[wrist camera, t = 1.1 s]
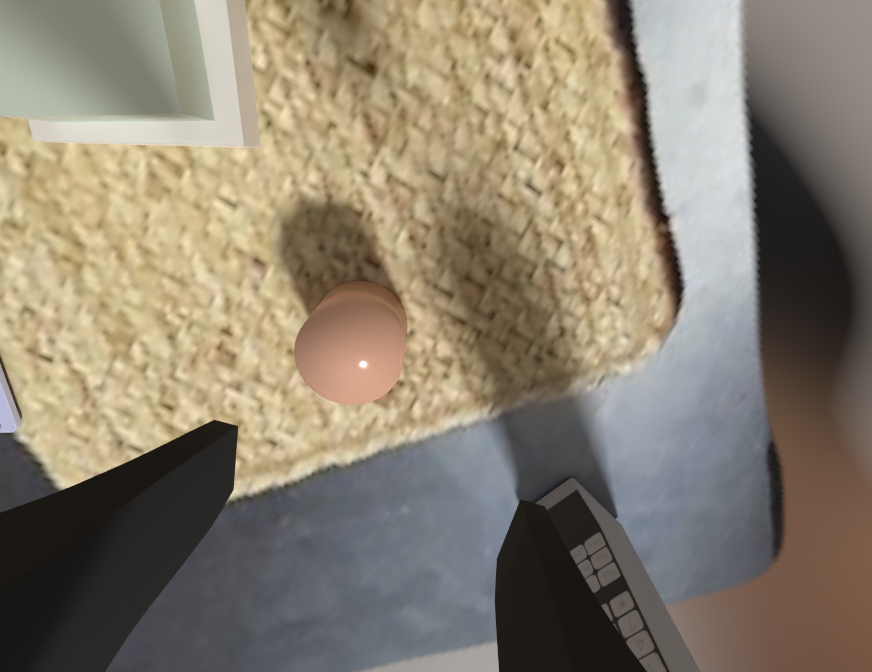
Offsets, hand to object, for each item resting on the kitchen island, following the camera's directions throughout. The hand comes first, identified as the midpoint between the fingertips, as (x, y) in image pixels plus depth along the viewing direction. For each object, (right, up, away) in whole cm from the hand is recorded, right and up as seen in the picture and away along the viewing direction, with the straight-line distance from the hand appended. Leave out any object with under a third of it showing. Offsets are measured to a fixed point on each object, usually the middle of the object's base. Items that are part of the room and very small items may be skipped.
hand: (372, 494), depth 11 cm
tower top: (-10, +15, +5) cm, 19 cm away
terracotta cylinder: (-2, +5, +11) cm, 12 cm away
